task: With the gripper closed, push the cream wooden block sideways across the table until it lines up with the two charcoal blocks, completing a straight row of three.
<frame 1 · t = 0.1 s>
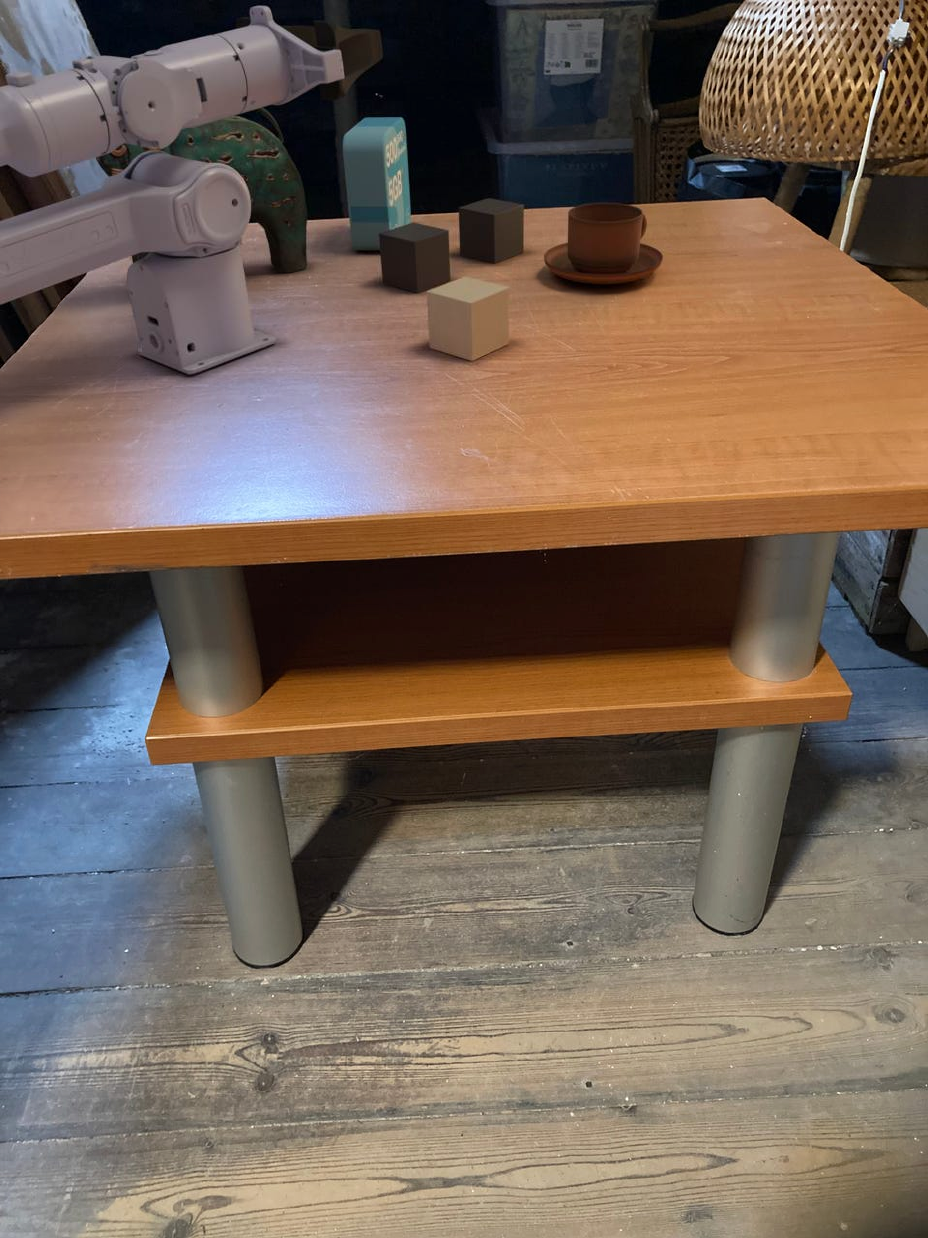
hand: (348, 41, 84), 22 cm above the table, tool horizontal, fingers open, 7 cm apart
data package: (383, 240, 112), on the table
cream block: (469, 346, 84), on the table
cup and saucer: (601, 276, 99), on the table
far block: (491, 253, 106), on the table
middle block: (416, 281, 99), on the table
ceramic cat: (221, 282, 101), on the table
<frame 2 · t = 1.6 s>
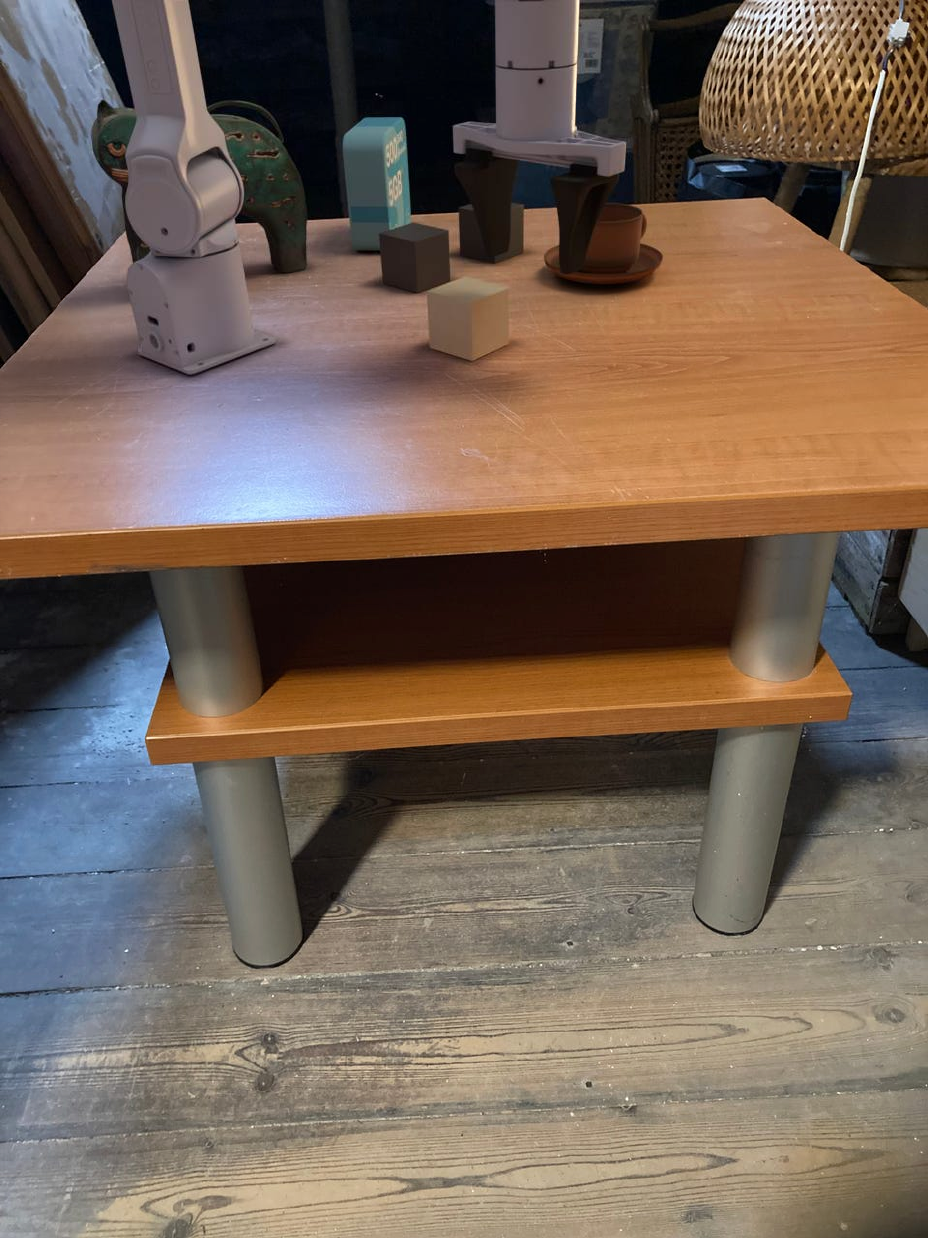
hand: (533, 262, 76), 8 cm above the table, tool pointing down, fingers open, 7 cm apart
nothing on the table moved.
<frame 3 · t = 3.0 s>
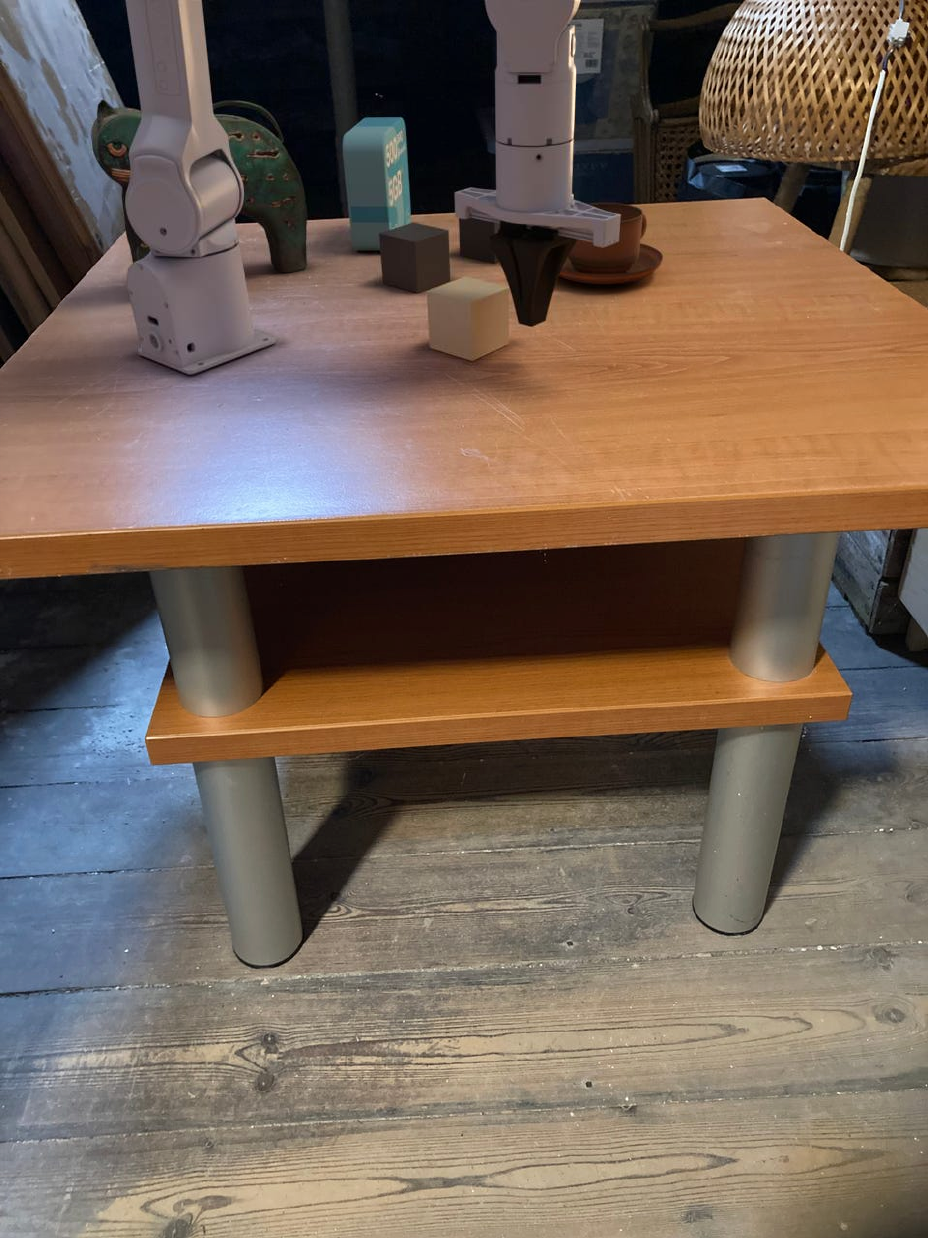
hand: (532, 321, 79), 4 cm above the table, tool pointing down, fingers closed
nothing on the table moved.
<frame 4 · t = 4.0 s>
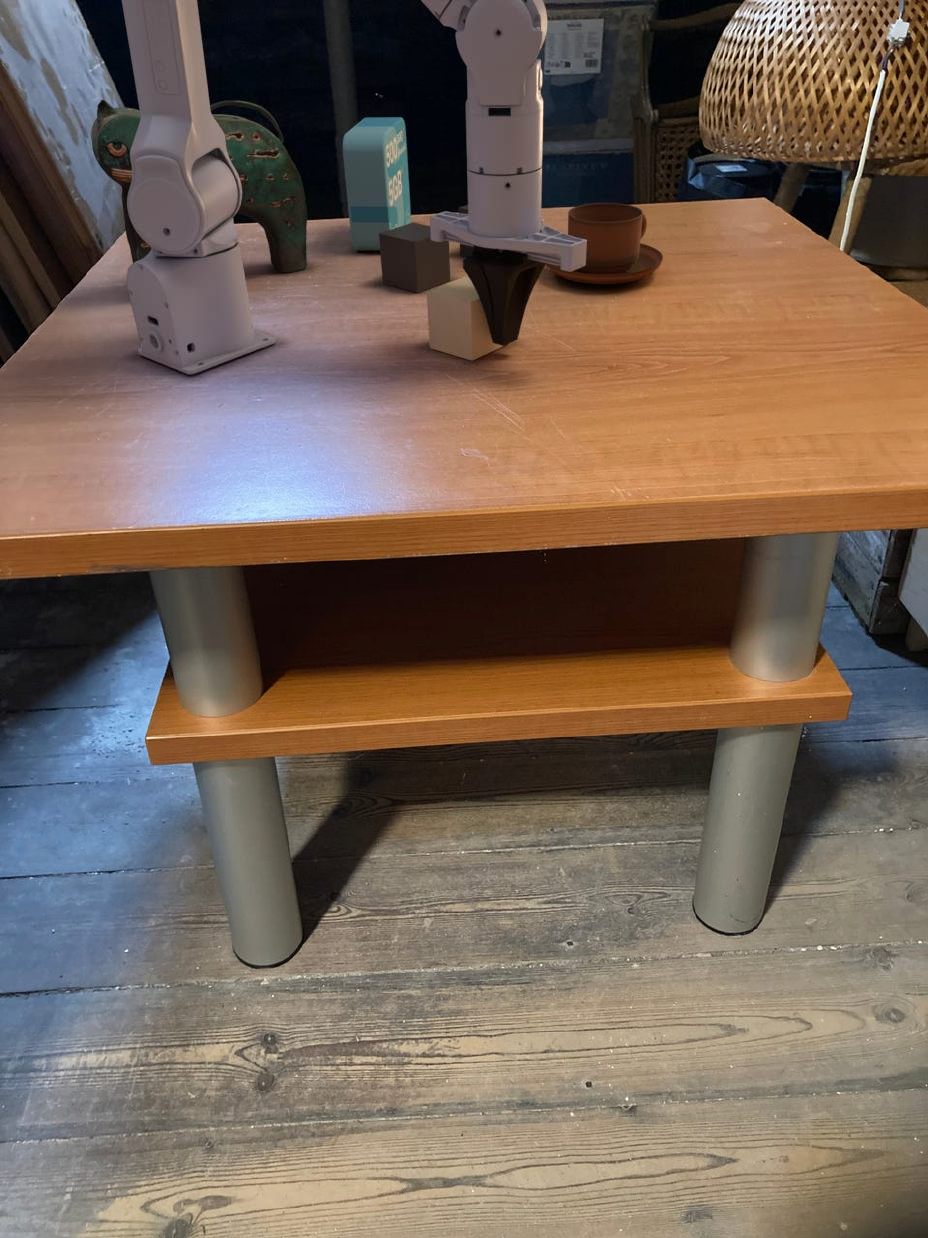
hand: (505, 340, 81), 1 cm above the table, tool pointing down, fingers closed
cream block: (469, 345, 84), on the table, touching gripper
everything else where it was.
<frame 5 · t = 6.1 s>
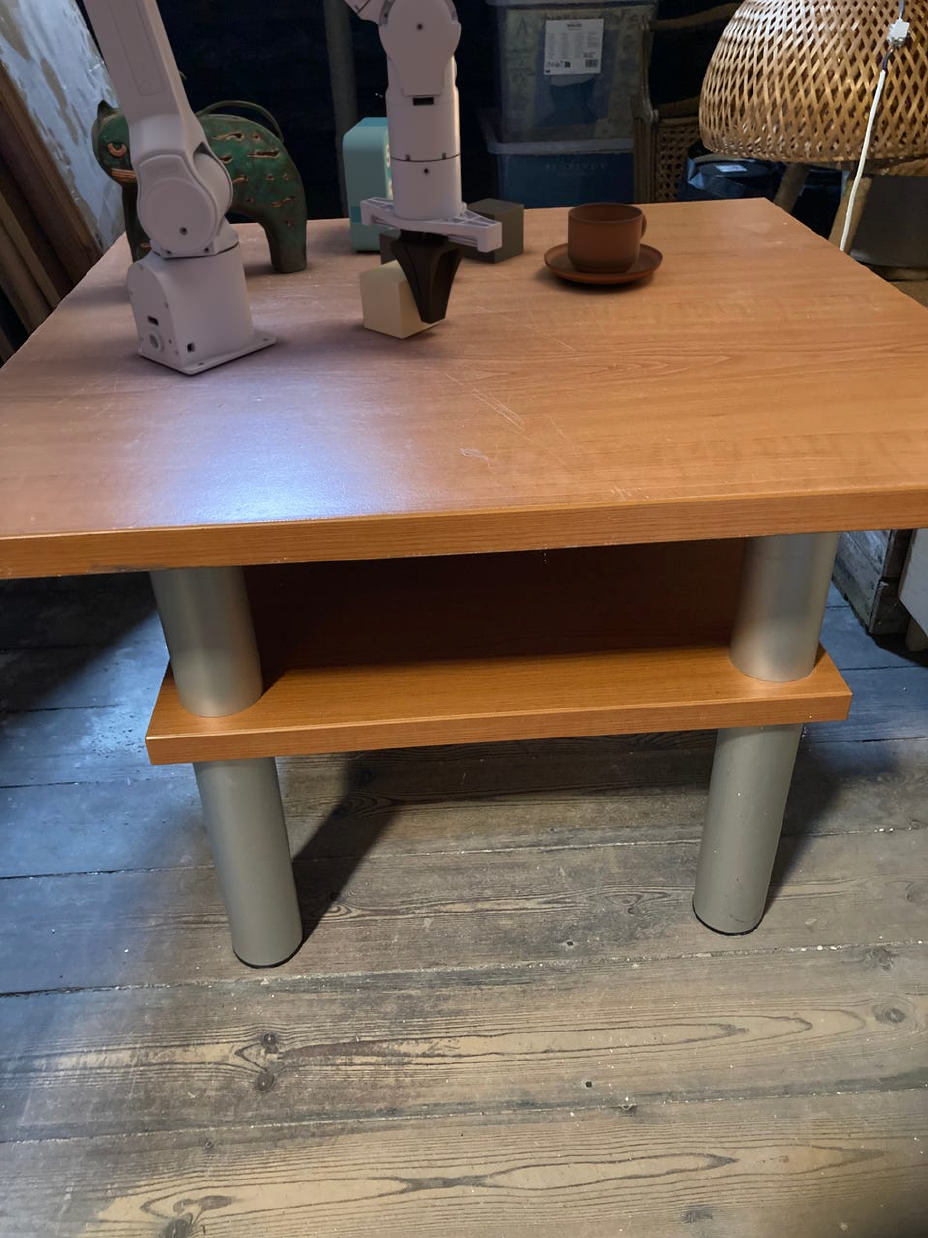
hand: (433, 319, 86), 1 cm above the table, tool pointing down, fingers closed
cream block: (402, 325, 89), on the table, touching gripper
everything else where it was.
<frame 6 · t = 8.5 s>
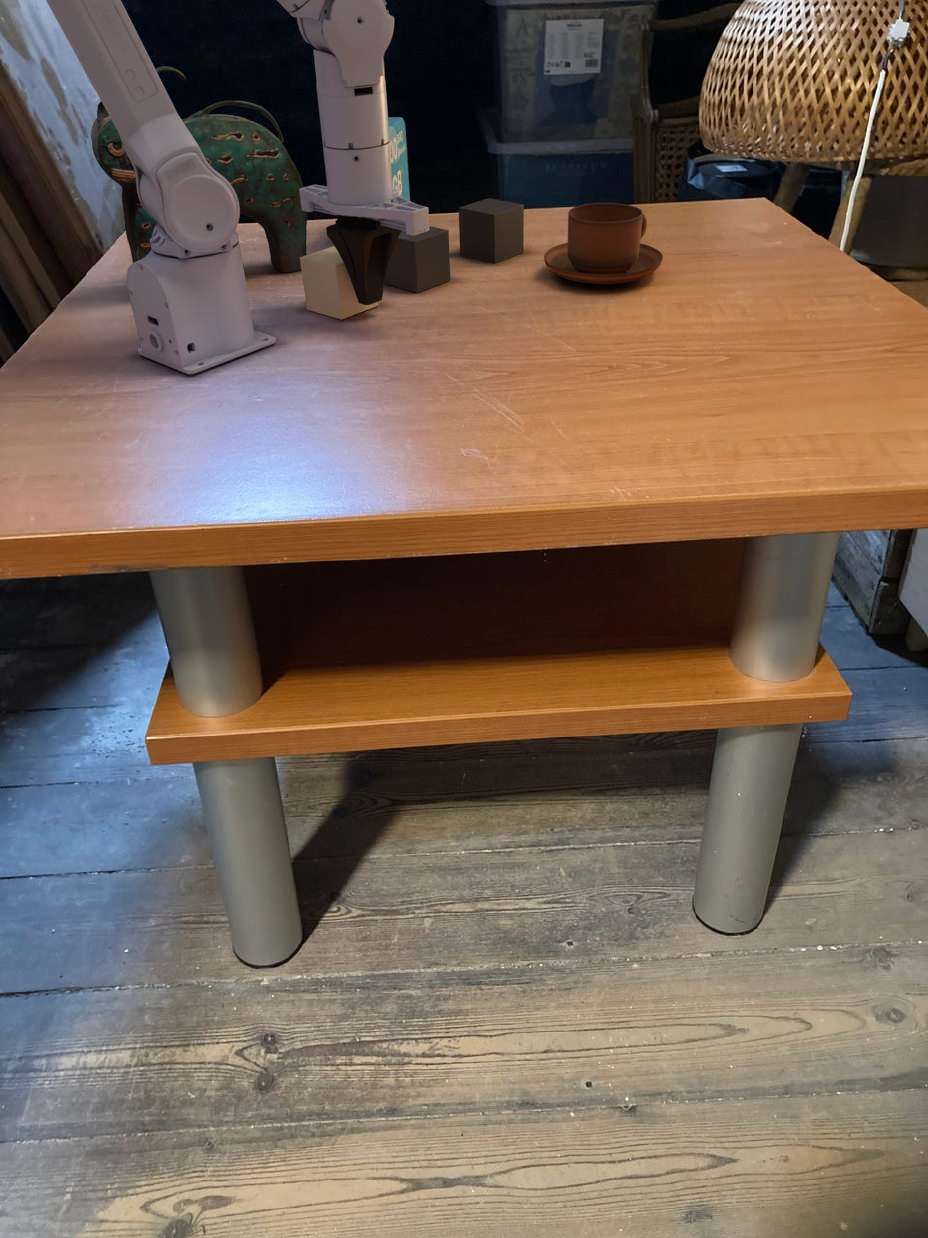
hand: (370, 301, 90), 1 cm above the table, tool pointing down, fingers closed
cream block: (342, 307, 93), on the table, touching gripper
everything else where it was.
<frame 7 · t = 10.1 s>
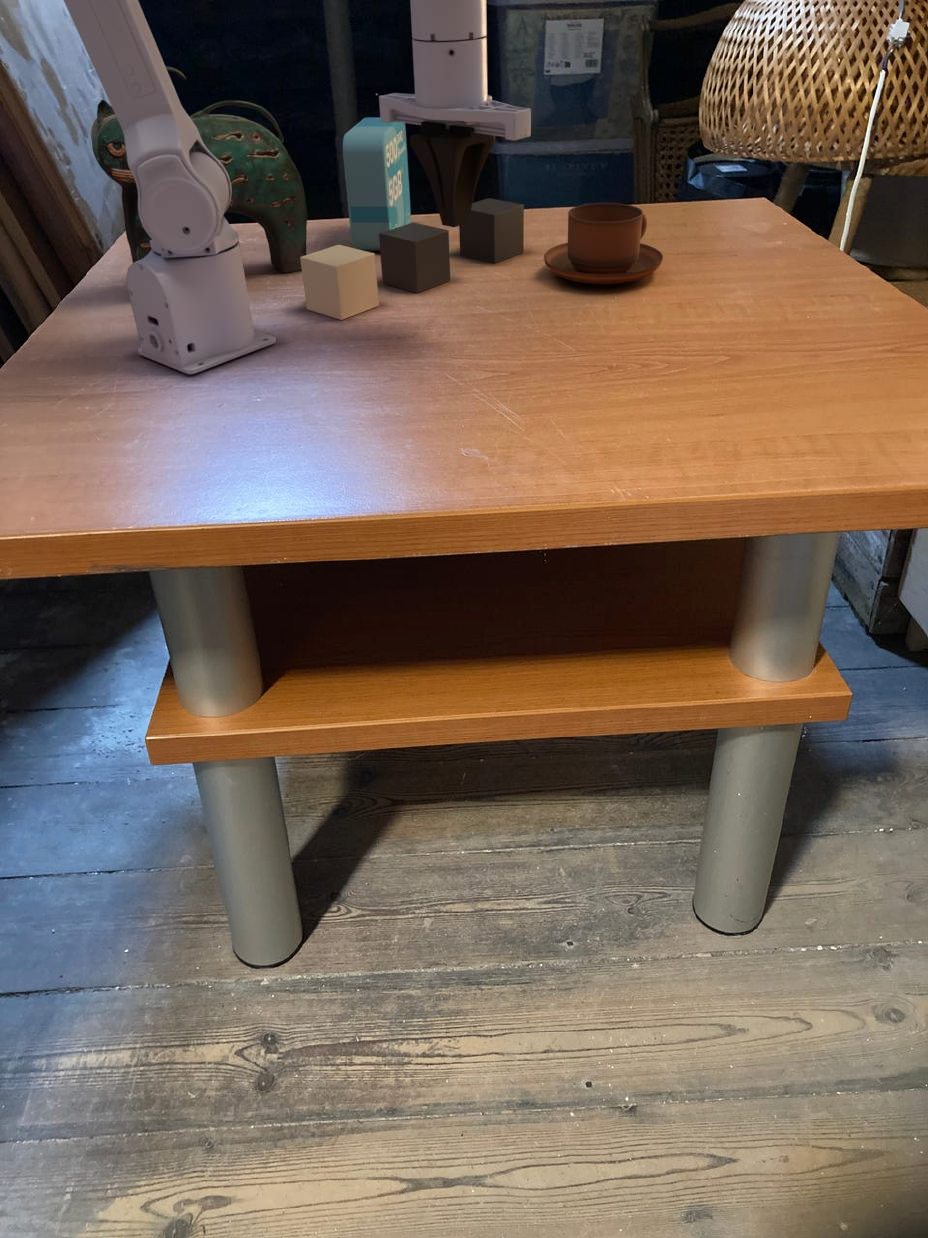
hand: (455, 223, 82), 9 cm above the table, tool pointing down, fingers closed
cream block: (342, 307, 93), on the table
everything else where it was.
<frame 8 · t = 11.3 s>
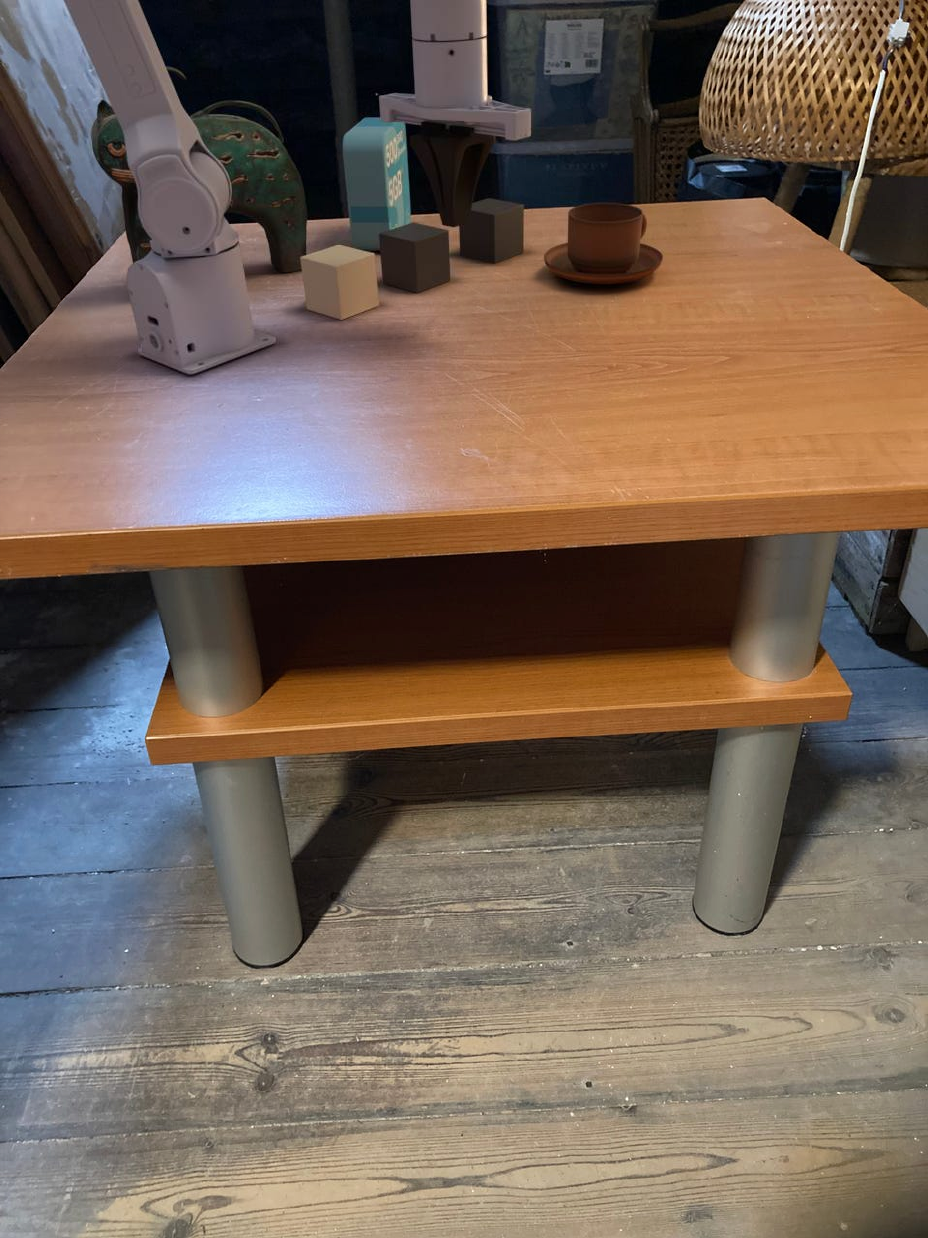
hand: (455, 223, 82), 9 cm above the table, tool pointing down, fingers closed
nothing on the table moved.
at the end: cream block 0.4 cm from the target spot on the table beside the far block, on the table; cream block tilted 0°; middle block moved 0.0 cm from its start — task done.
